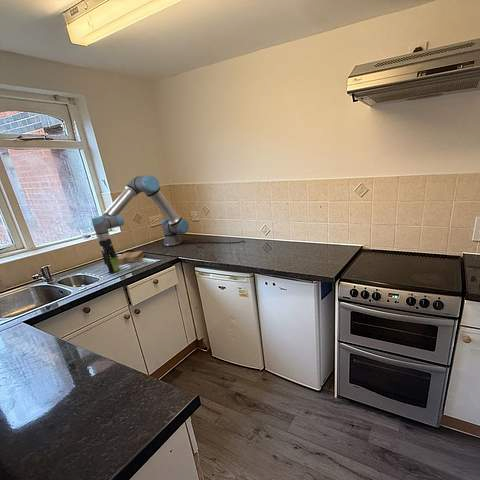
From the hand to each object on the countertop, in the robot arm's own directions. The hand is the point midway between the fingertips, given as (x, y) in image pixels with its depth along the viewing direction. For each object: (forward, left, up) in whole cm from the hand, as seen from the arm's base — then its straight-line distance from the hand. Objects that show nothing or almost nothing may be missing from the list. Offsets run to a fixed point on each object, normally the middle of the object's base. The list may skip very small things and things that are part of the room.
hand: (114, 270), depth 210 cm
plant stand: (-4, -24, 0) cm, 24 cm away
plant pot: (0, 0, 0) cm, 0 cm away
